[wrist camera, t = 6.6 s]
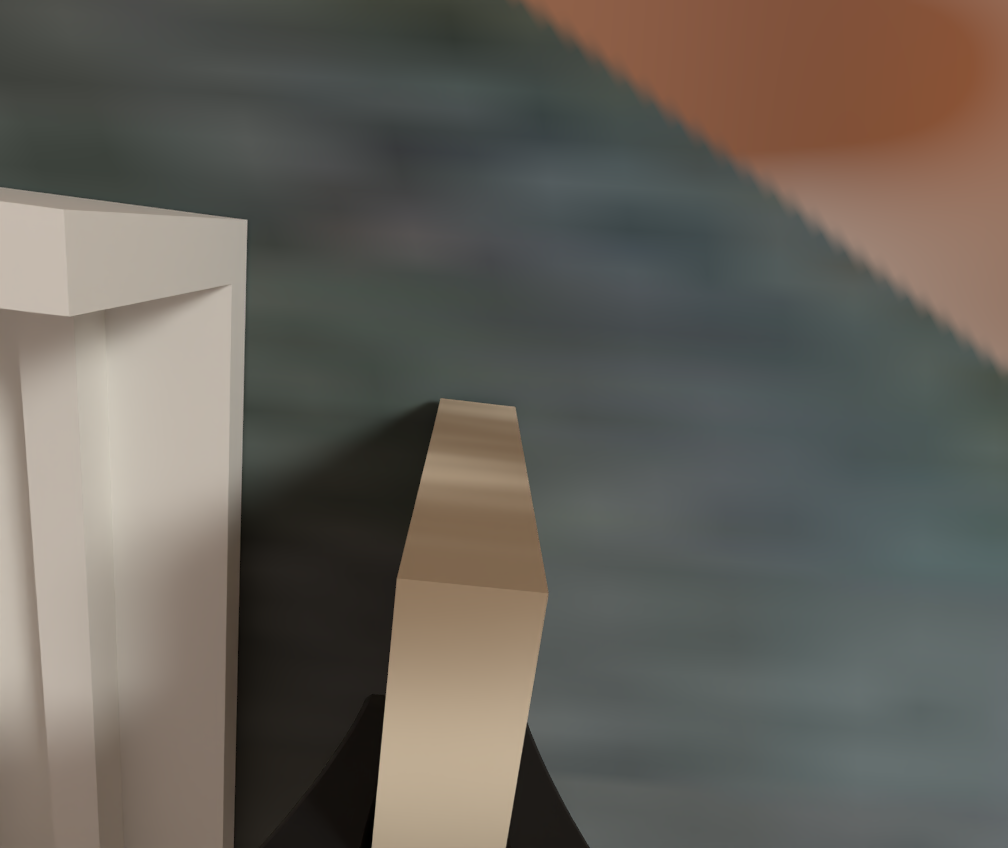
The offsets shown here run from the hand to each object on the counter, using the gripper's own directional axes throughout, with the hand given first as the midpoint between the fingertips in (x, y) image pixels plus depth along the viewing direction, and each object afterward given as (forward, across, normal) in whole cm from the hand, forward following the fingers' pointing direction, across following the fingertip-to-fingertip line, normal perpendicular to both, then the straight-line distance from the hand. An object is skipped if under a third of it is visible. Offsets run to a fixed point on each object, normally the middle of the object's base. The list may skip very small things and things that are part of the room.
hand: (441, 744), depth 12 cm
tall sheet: (+3, 0, 0) cm, 3 cm away
